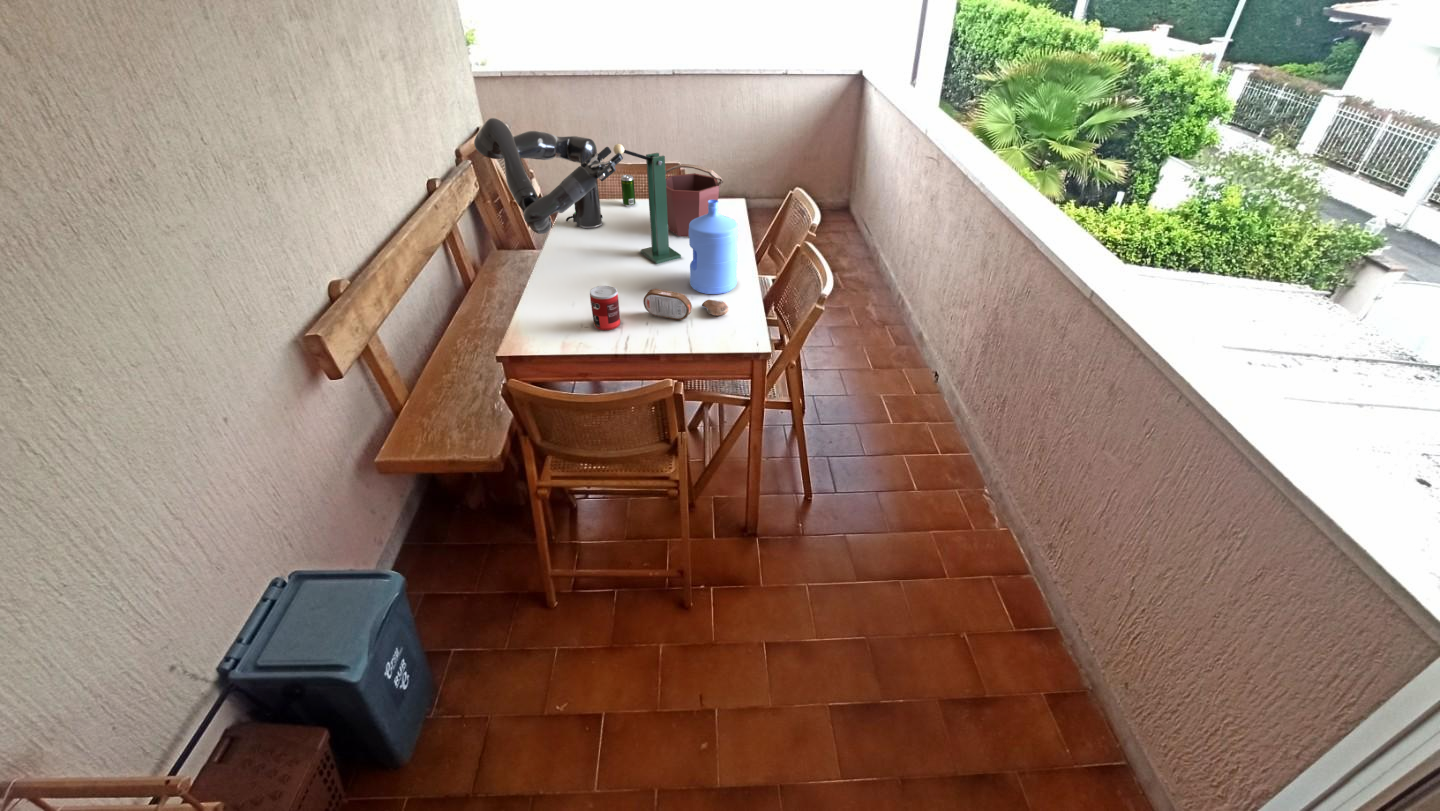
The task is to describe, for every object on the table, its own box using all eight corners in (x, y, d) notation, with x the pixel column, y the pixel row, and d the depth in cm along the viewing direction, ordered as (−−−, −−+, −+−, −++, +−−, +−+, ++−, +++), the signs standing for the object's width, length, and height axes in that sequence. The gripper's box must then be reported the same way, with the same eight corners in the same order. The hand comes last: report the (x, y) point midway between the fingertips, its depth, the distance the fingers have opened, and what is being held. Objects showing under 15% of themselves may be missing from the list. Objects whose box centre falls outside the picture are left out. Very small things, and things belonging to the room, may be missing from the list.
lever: (615, 154, 203) (618, 143, 201) (610, 152, 205) (613, 141, 204) (660, 168, 213) (663, 158, 212) (655, 165, 216) (658, 155, 214)
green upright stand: (656, 264, 227) (650, 162, 206) (640, 253, 235) (633, 153, 214) (681, 258, 231) (677, 157, 210) (664, 247, 239) (659, 148, 218)
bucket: (732, 228, 255) (733, 163, 240) (701, 246, 240) (700, 178, 225) (681, 216, 266) (679, 153, 251) (649, 233, 251) (644, 167, 236)
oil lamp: (726, 307, 203) (701, 308, 202) (726, 295, 201) (701, 296, 200) (729, 317, 195) (703, 318, 194) (729, 305, 193) (702, 306, 192)
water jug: (744, 279, 217) (746, 197, 200) (724, 299, 206) (725, 213, 189) (702, 271, 222) (701, 190, 206) (681, 289, 211) (678, 205, 194)
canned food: (594, 319, 195) (590, 285, 188) (621, 318, 195) (618, 284, 189) (592, 331, 188) (588, 297, 182) (620, 330, 189) (616, 296, 182)
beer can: (638, 205, 276) (636, 176, 269) (627, 207, 274) (625, 179, 267) (631, 201, 280) (629, 173, 273) (620, 204, 277) (618, 176, 270)
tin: (692, 318, 195) (691, 293, 190) (688, 323, 193) (688, 298, 188) (647, 310, 199) (645, 285, 194) (642, 315, 197) (641, 290, 192)
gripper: (579, 181, 195) (619, 147, 196) (561, 169, 204) (599, 137, 206) (593, 200, 200) (631, 167, 202) (575, 188, 210) (612, 156, 211)
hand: (615, 152), depth 204 cm, fingers open, 8 cm apart
